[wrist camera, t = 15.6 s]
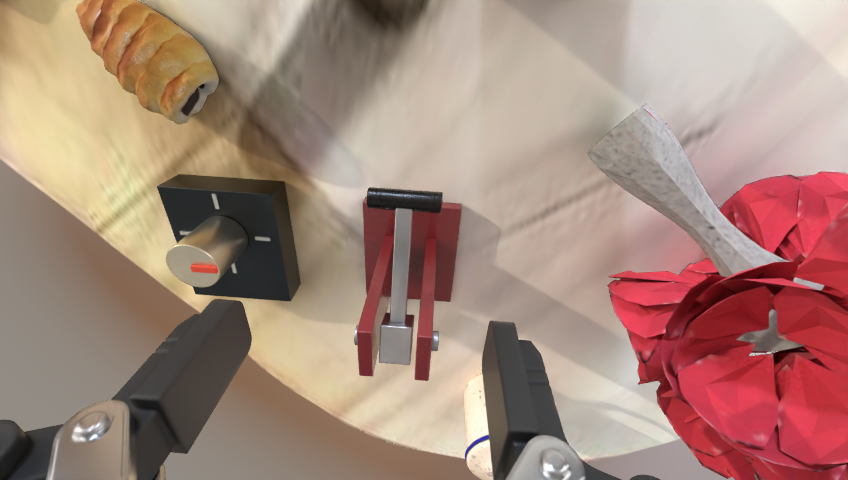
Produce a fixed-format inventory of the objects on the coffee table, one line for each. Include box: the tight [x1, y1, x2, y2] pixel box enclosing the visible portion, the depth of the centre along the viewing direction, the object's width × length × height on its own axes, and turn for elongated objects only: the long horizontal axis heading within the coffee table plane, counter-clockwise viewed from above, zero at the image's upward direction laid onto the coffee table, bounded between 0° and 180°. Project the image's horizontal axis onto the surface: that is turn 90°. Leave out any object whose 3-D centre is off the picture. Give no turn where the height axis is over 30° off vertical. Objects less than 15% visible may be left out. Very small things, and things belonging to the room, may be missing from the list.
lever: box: [367, 187, 443, 365], centre depth 25 cm, size 12×5×2 cm, turn 177°
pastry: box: [76, 0, 219, 124], centre depth 26 cm, size 9×7×4 cm
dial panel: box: [157, 174, 301, 301], centre depth 35 cm, size 12×10×3 cm
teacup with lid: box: [464, 374, 558, 480], centre depth 41 cm, size 12×9×12 cm
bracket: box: [354, 197, 461, 381], centre depth 30 cm, size 11×9×14 cm
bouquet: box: [587, 104, 848, 480], centre depth 24 cm, size 22×24×30 cm
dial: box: [166, 216, 248, 287], centre depth 31 cm, size 4×4×5 cm
